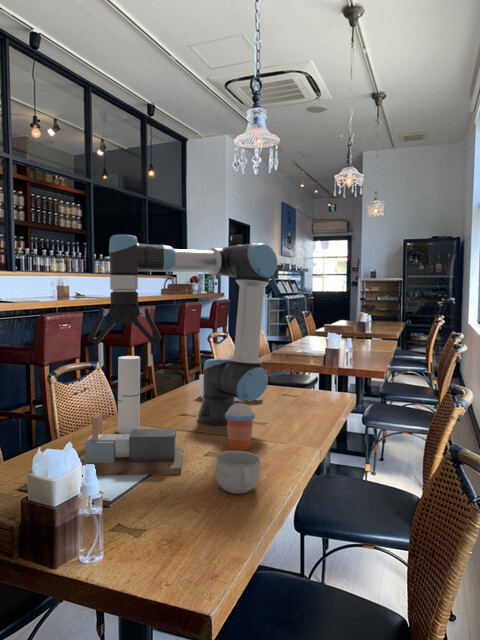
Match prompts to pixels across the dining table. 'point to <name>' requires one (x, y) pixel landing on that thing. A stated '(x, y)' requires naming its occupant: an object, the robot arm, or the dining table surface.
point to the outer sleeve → (152, 445)
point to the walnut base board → (137, 466)
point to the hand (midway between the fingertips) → (125, 366)
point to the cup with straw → (239, 425)
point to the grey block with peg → (110, 437)
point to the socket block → (99, 452)
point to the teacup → (237, 471)
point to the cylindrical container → (128, 394)
